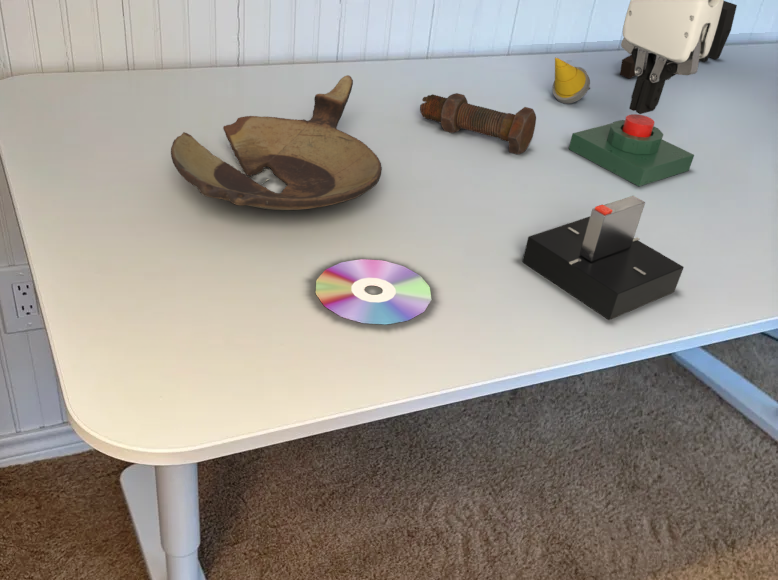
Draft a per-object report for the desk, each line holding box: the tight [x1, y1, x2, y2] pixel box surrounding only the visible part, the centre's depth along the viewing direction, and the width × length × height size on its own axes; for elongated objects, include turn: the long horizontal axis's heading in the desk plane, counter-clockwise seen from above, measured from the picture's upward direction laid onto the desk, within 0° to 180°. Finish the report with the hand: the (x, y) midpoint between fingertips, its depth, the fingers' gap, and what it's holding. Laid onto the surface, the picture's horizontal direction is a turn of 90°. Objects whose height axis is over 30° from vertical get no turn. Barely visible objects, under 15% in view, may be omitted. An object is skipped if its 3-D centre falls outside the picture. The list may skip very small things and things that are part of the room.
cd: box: [315, 258, 432, 325], centre depth 79 cm, size 11×11×1 cm
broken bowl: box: [170, 74, 383, 211], centre depth 92 cm, size 22×30×8 cm
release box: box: [568, 119, 695, 187], centre depth 107 cm, size 12×10×4 cm
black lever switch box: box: [522, 215, 685, 321], centre depth 84 cm, size 12×10×3 cm
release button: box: [622, 113, 656, 137], centre depth 105 cm, size 4×4×2 cm
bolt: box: [419, 92, 537, 155], centre depth 108 cm, size 6×5×15 cm
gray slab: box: [580, 195, 646, 262], centre depth 81 cm, size 6×2×5 cm, turn 126°
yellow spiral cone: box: [551, 57, 591, 105], centre depth 119 cm, size 5×5×10 cm
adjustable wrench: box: [619, 0, 738, 80], centre depth 137 cm, size 8×3×25 cm
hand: (641, 109), depth 104 cm, fingers closed
